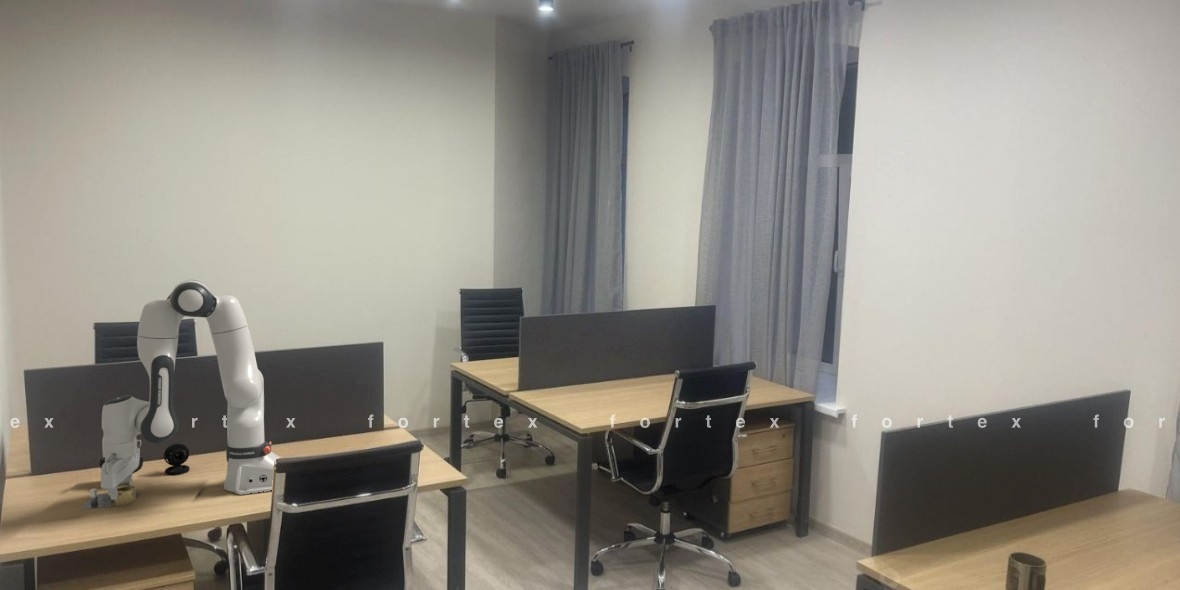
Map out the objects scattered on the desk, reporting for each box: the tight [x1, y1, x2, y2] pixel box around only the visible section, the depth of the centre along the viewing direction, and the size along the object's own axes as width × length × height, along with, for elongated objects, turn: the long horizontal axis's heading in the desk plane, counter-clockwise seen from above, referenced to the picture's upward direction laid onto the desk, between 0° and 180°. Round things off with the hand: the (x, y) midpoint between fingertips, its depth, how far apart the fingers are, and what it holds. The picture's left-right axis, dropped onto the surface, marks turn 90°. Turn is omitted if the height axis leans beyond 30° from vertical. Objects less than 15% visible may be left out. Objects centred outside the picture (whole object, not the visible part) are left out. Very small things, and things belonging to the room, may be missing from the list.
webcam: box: [163, 443, 190, 476], centre depth 259 cm, size 8×8×10 cm
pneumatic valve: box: [99, 456, 144, 486], centre depth 246 cm, size 6×12×12 cm, turn 89°
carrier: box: [79, 487, 142, 510], centre depth 231 cm, size 13×12×5 cm
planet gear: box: [111, 484, 137, 506], centre depth 230 cm, size 6×6×4 cm
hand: (121, 492), depth 230 cm, fingers open, 8 cm apart
